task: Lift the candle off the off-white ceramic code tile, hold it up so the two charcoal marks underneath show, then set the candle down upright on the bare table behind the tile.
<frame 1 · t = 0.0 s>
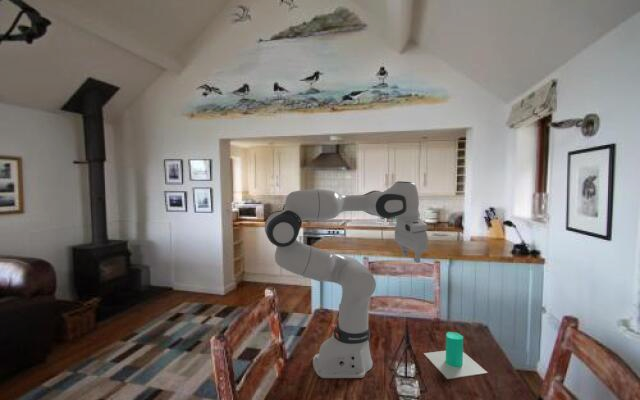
hand: (411, 258, 121), 39 cm above the table, tool pointing down, fingers open, 8 cm apart
code tile: (454, 363, 119), on the table
candle: (454, 362, 119), resting on code tile
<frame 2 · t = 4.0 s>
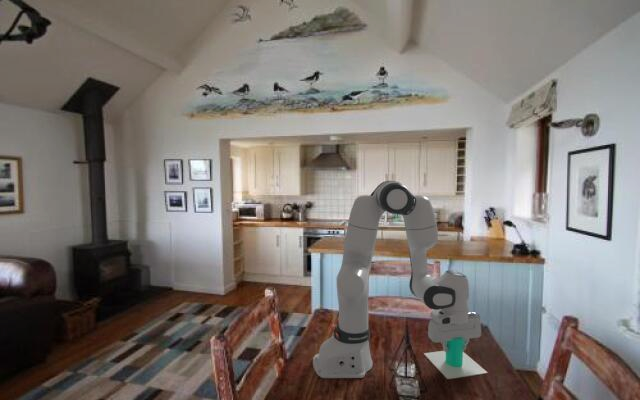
hand: (454, 350, 118), 5 cm above the table, tool pointing down, fingers closed on candle, 6 cm apart
candle: (454, 362, 119), resting on code tile, touching gripper
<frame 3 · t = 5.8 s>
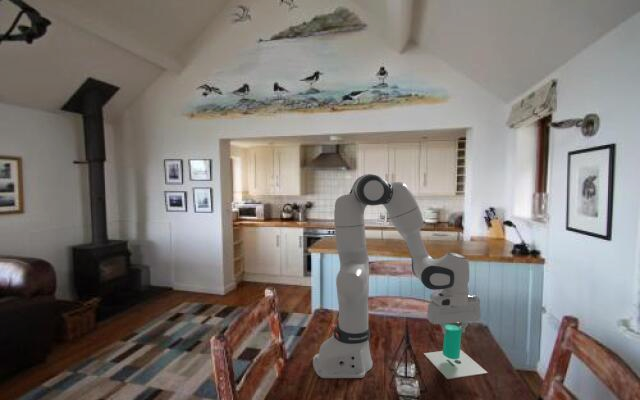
hand: (453, 332, 118), 12 cm above the table, tool pointing down, fingers closed on candle, 5 cm apart
candle: (451, 355, 118), point 3 cm above the table, touching gripper
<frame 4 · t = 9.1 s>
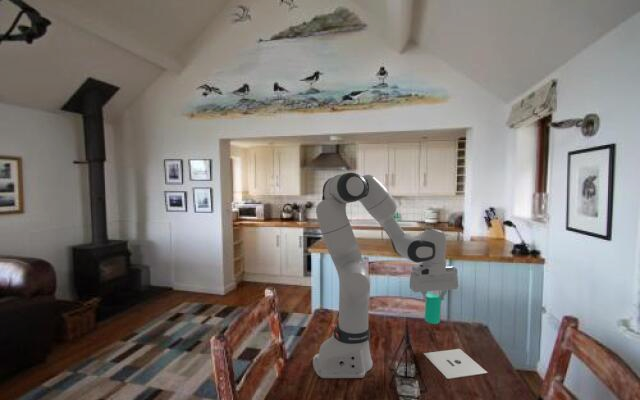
hand: (433, 300, 131), 19 cm above the table, tool pointing down, fingers closed on candle, 5 cm apart
candle: (432, 320, 131), point 10 cm above the table, touching gripper
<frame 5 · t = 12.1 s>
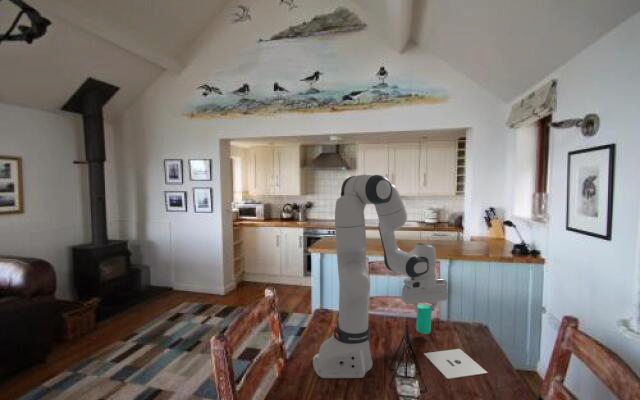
hand: (424, 311, 137), 12 cm above the table, tool pointing down, fingers closed on candle, 5 cm apart
candle: (423, 330, 138), point 3 cm above the table, touching gripper
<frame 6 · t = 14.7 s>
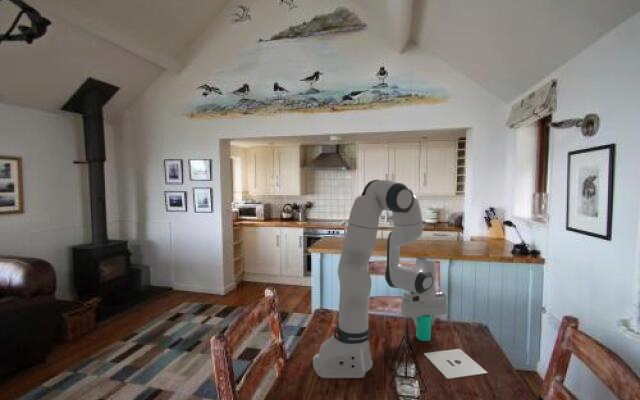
hand: (424, 325, 138), 6 cm above the table, tool pointing down, fingers closed on candle, 5 cm apart
candle: (423, 338, 138), on the table, touching gripper
when the fingers open (6 cm above the table, at t = 14.9 s): candle stays where it is, on the table.
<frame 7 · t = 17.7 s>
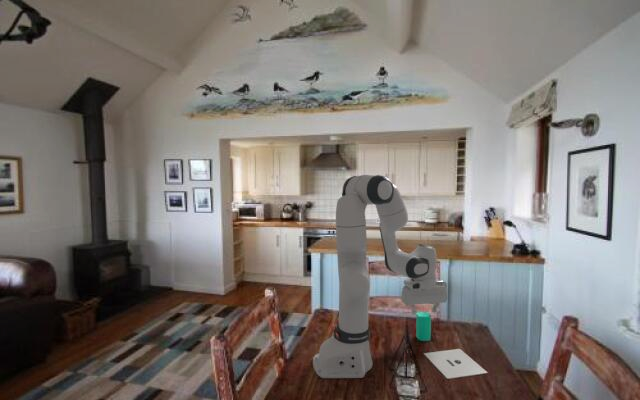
hand: (424, 312, 137), 11 cm above the table, tool pointing down, fingers open, 8 cm apart
candle: (423, 338, 138), on the table
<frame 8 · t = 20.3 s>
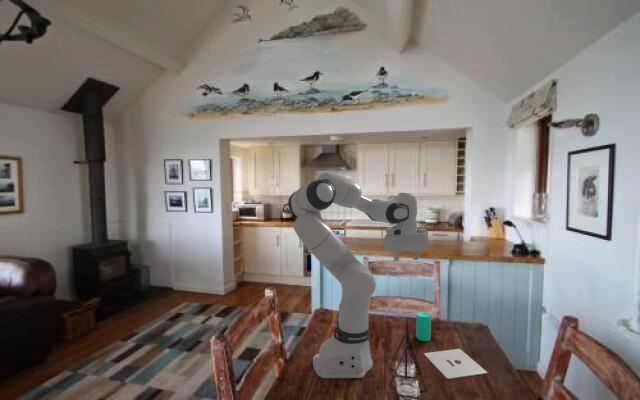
hand: (406, 260, 141), 33 cm above the table, tool pointing down, fingers open, 8 cm apart
nothing on the table moved.
at the end: candle inside the target area (1.2 cm from its centre), on the table; candle tilted 0°; candle touching table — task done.
